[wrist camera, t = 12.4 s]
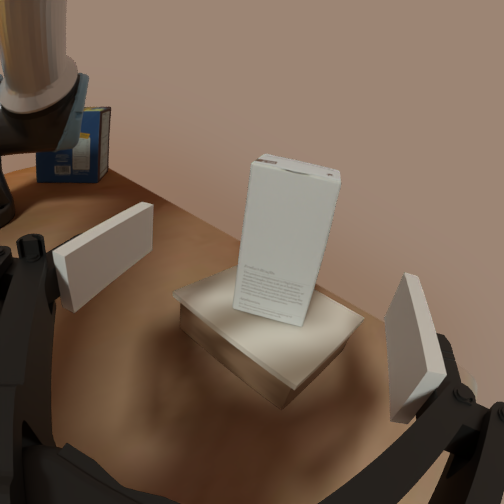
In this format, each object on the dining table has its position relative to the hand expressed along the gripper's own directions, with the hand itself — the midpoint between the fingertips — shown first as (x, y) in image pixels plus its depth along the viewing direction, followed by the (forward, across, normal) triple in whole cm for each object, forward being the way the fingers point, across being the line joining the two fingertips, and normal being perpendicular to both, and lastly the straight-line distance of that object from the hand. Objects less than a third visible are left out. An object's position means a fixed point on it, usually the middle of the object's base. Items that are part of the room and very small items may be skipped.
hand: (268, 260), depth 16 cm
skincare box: (+8, 0, -9) cm, 12 cm away
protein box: (+36, -52, -13) cm, 65 cm away
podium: (+8, 0, -13) cm, 15 cm away
